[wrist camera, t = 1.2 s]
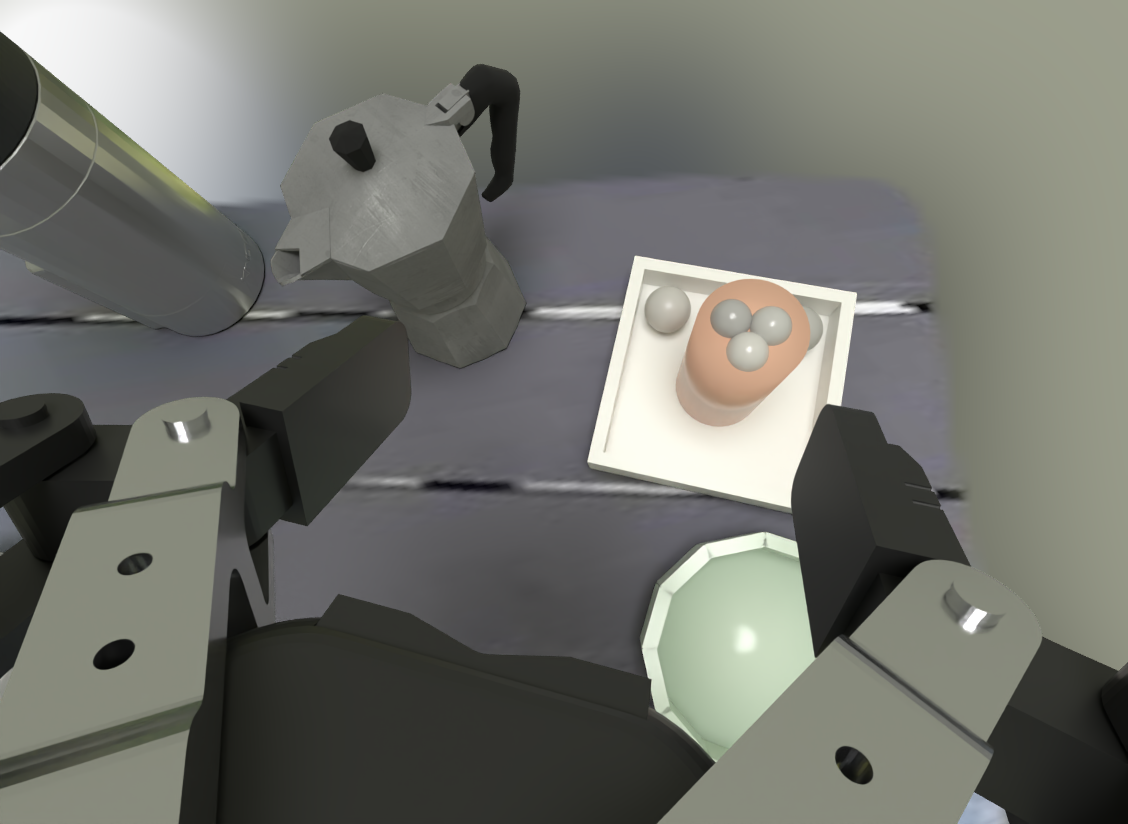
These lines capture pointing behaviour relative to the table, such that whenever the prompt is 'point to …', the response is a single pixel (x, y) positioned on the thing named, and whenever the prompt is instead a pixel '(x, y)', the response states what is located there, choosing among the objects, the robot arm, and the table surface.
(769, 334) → the pebble pot
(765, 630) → the sage bowl
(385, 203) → the coffeepot
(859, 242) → the table surface
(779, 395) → the parts tray
